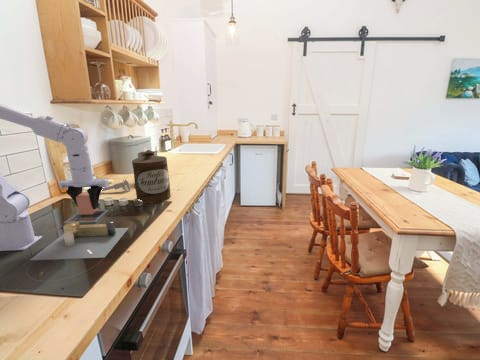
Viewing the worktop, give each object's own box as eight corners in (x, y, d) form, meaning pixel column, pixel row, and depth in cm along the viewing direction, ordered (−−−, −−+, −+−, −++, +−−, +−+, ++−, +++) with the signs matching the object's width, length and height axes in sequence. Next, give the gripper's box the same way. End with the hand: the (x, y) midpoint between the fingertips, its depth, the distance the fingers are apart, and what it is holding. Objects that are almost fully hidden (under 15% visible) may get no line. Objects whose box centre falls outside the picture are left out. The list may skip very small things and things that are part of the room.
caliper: (130, 190, 133) (128, 178, 131) (130, 191, 132) (128, 179, 130) (85, 194, 128) (83, 182, 126) (85, 195, 127) (82, 182, 125)
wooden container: (141, 206, 111) (134, 154, 105) (133, 196, 123) (127, 149, 117) (175, 198, 119) (170, 150, 113) (164, 190, 131) (160, 146, 125)
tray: (64, 229, 91) (63, 222, 90) (81, 216, 102) (80, 210, 101) (96, 228, 91) (95, 221, 91) (110, 215, 102) (109, 209, 101)
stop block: (79, 214, 84) (75, 196, 82) (86, 209, 87) (82, 192, 86) (92, 214, 84) (88, 196, 82) (98, 209, 87) (95, 192, 86)
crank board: (30, 263, 72) (26, 247, 70) (69, 232, 89) (66, 219, 87) (105, 260, 72) (102, 244, 71) (129, 230, 89) (127, 217, 88)
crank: (62, 239, 82) (59, 226, 80) (70, 232, 86) (67, 220, 85) (112, 237, 82) (110, 225, 81) (118, 231, 86) (116, 219, 85)
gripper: (48, 171, 77) (57, 213, 81) (98, 169, 78) (105, 212, 82) (63, 165, 84) (71, 205, 88) (108, 164, 85) (115, 204, 88)
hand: (88, 208), depth 85 cm, fingers closed on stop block, 4 cm apart
